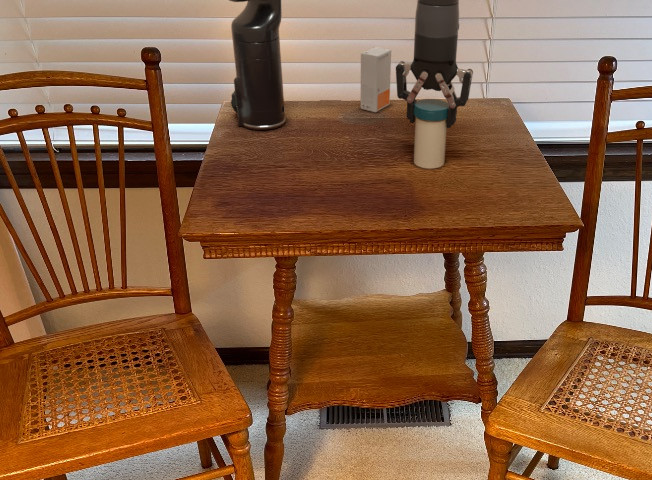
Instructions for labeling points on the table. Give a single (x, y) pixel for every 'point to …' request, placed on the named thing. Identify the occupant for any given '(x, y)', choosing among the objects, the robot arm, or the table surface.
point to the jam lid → (431, 109)
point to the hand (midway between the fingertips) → (431, 123)
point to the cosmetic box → (375, 78)
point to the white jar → (430, 143)
